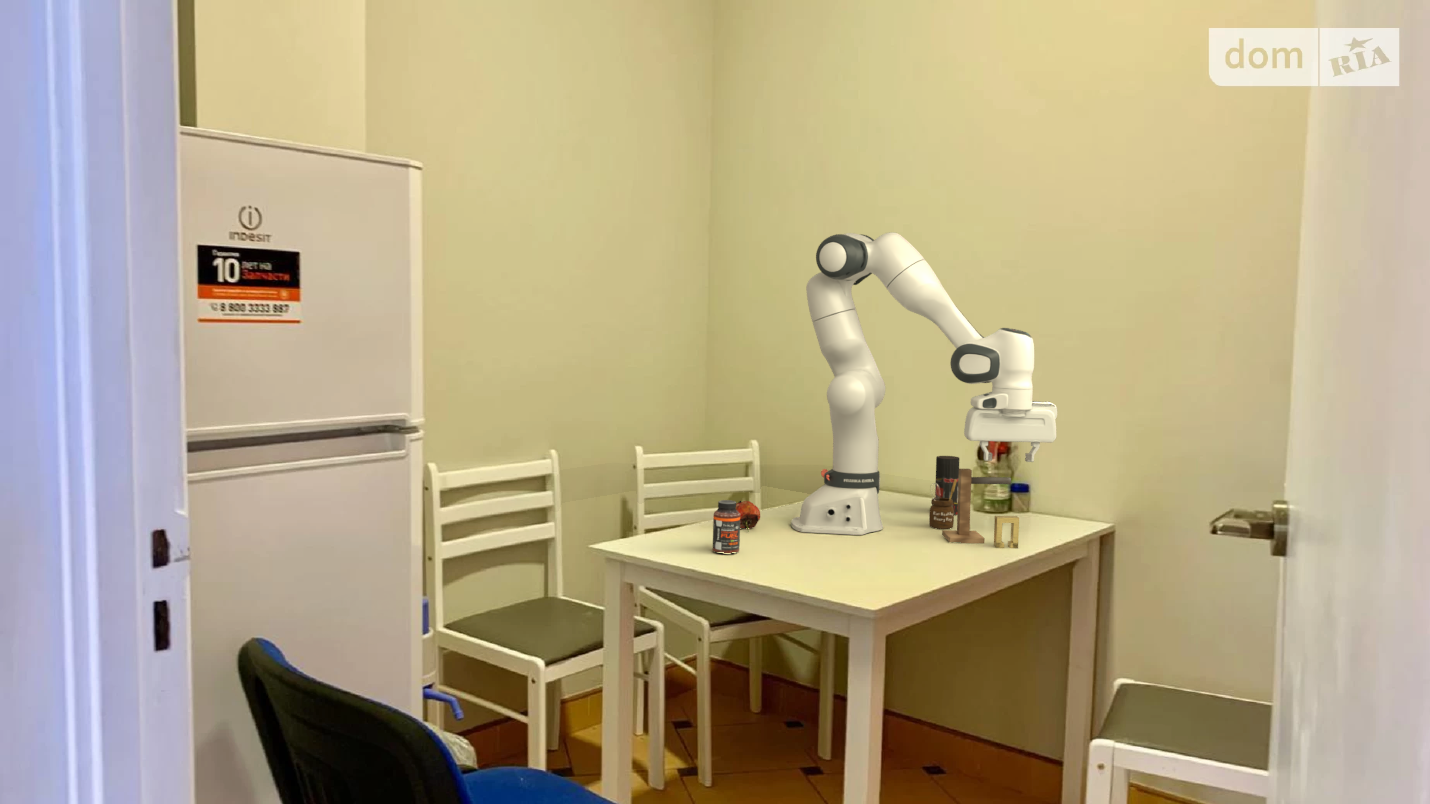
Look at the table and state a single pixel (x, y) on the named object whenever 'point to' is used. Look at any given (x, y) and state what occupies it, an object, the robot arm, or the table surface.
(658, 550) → the table surface
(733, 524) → the supplement bottle
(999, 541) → the tan wooden arch piece
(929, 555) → the table surface
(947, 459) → the deodorant
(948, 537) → the stand
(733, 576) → the table surface
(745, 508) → the pomegranate
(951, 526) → the utensil holder
